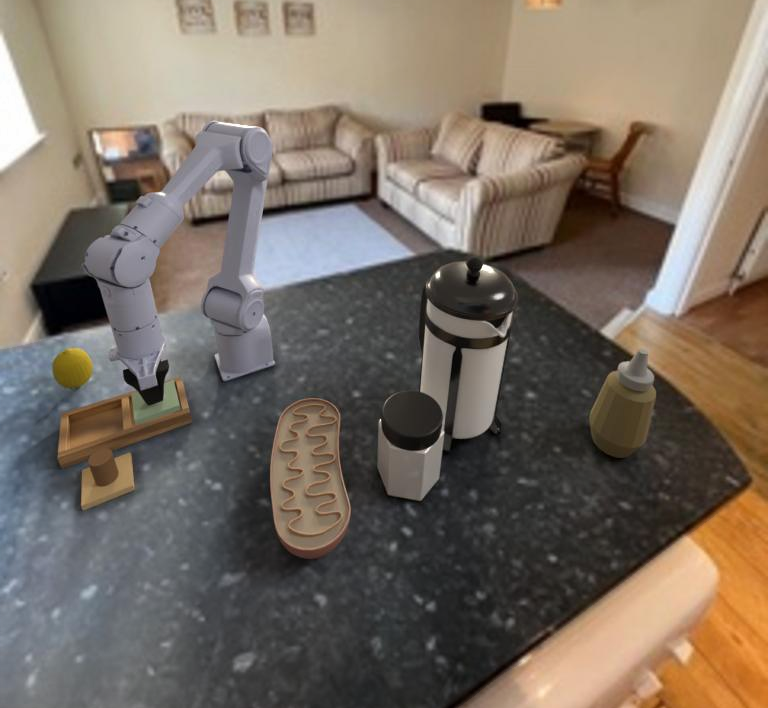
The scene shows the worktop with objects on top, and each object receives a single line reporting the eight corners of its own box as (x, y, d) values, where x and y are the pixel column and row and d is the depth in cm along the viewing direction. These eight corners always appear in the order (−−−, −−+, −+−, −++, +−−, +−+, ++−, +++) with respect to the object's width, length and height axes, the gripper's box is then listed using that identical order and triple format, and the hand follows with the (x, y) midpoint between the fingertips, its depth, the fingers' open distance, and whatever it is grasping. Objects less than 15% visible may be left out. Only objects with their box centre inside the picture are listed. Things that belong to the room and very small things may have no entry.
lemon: (80, 400, 75) (67, 363, 71) (52, 395, 76) (37, 358, 72) (105, 378, 80) (93, 342, 76) (78, 373, 81) (66, 337, 77)
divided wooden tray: (65, 424, 70) (61, 413, 70) (183, 386, 79) (181, 375, 78) (61, 469, 63) (57, 458, 62) (192, 422, 71) (189, 411, 70)
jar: (404, 438, 70) (408, 379, 65) (448, 469, 65) (456, 408, 60) (365, 477, 63) (366, 415, 58) (411, 514, 59) (416, 450, 54)
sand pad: (131, 456, 66) (124, 432, 63) (134, 490, 61) (126, 464, 59) (83, 474, 63) (74, 449, 61) (82, 510, 58) (72, 485, 56)
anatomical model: (354, 568, 53) (354, 542, 51) (268, 584, 51) (264, 557, 49) (338, 417, 73) (337, 394, 71) (276, 425, 71) (273, 401, 69)
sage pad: (174, 384, 71) (169, 360, 69) (180, 409, 67) (174, 384, 65) (132, 398, 69) (125, 373, 66) (135, 425, 64) (128, 399, 62)
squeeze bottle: (635, 430, 72) (669, 340, 65) (644, 472, 66) (683, 377, 58) (582, 416, 75) (608, 328, 67) (585, 455, 68) (615, 362, 60)
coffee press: (510, 399, 78) (540, 244, 65) (489, 473, 65) (522, 297, 52) (417, 368, 84) (428, 222, 72) (381, 430, 71) (386, 264, 58)
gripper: (99, 301, 65) (120, 373, 71) (101, 360, 54) (126, 440, 59) (153, 288, 68) (169, 359, 74) (166, 341, 57) (183, 419, 63)
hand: (153, 394), depth 67 cm, fingers closed on sage pad, 3 cm apart
